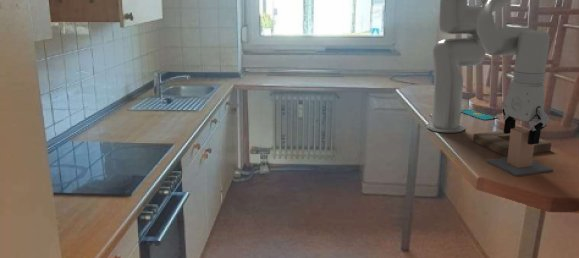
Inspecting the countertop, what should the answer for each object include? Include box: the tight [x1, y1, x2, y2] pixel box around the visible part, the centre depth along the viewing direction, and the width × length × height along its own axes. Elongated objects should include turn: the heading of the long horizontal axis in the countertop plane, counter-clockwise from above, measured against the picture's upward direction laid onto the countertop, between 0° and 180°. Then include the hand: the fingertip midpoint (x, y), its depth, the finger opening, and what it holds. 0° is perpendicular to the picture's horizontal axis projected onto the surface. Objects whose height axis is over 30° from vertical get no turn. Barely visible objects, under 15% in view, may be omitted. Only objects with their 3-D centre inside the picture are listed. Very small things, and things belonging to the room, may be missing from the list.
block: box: [507, 126, 534, 168], centre depth 139 cm, size 4×4×10 cm
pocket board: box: [472, 129, 552, 157], centre depth 158 cm, size 16×16×2 cm
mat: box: [486, 156, 554, 177], centre depth 141 cm, size 12×12×1 cm
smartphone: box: [461, 108, 494, 121], centre depth 195 cm, size 7×1×15 cm
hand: (520, 138), depth 139 cm, fingers open, 9 cm apart
